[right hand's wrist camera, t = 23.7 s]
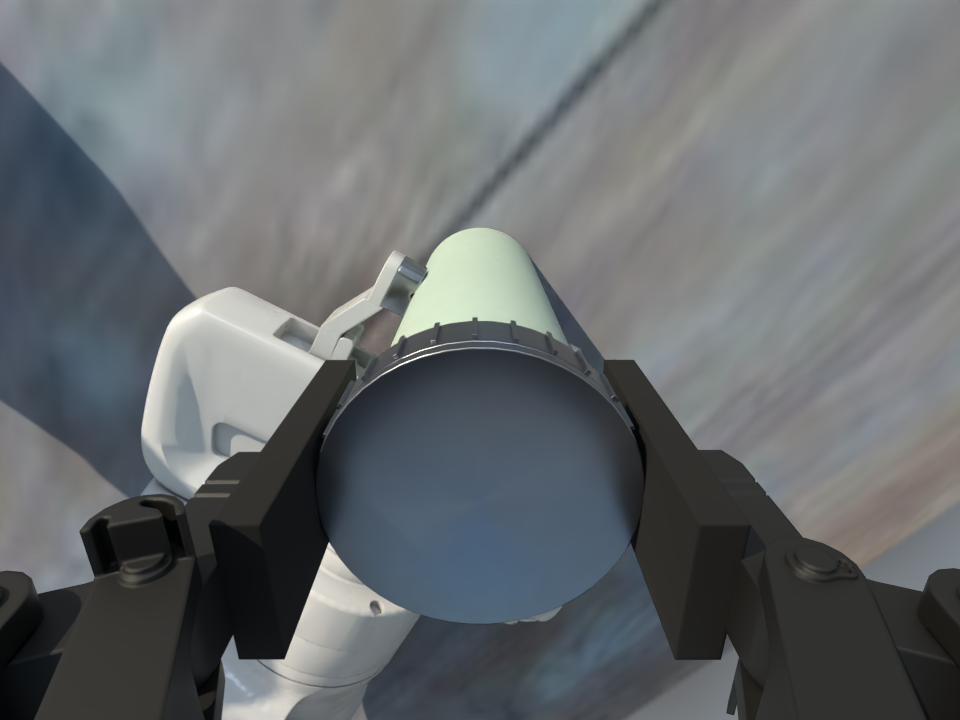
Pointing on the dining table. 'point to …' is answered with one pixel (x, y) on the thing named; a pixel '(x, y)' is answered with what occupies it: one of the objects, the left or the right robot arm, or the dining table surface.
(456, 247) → the jar
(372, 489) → the lid
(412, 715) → the dining table surface
